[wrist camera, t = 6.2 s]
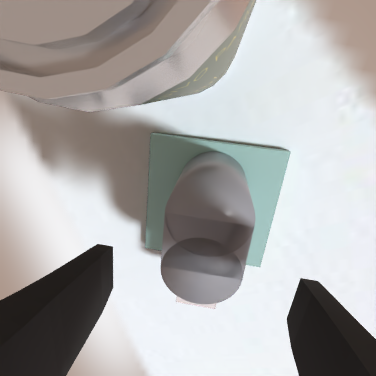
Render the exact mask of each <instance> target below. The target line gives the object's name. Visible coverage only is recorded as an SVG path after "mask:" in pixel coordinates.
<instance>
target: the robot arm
mask: <svg viewBox="0 0 376 376" xmlns="http://www.w3.org/2000/svg"><path fill="white" fill-rule="evenodd" d="M112 289H113V247H112V246H106V245H100V244H97V245H95V246H94V247H92V248H90V249H89V250H87V251H86V252H84V253H82V254H81V255H79V256H78V257H76V258H75V259H73V260H71V261H70V262H68V263H66V264H65V265H63V266H62V267H60V268H58V269H56V270H55V271H53V272H52V273H50V274H48V275H46V276H45V277H43V278H41V279H39V280H38V281H36V282H34V283H32V284H30V285H29V286H27V287H25V288H23V289H21V290H20V291H18V292H16V293H14V294H12V295H10V296H8V297H6V298H4V299H2V300H0V376H66V375H67V373H68V371H69V369H70V368H71V366H72V364H73V363H74V361H75V359H76V357H77V356H78V354H79V352H80V351H81V349H82V347H83V345H84V344H85V342H86V340H87V338H88V337H89V335H90V333H91V331H92V330H93V328H94V326H95V324H96V322H97V321H98V319H99V317H100V315H101V314H102V312H103V310H104V307H105V305H106V303H107V301H108V298H109V296H110V293H111V291H112ZM287 324H288V331H289V337H290V343H291V348H292V352H293V356H294V359H295V363H296V366H297V370H298V373H299V376H376V339H375V338H374V337H373V336H372V335H371V334H370V333H369V332H368V331H367V330H366V329H365V328H364V327H363V326H362V325H361V324H360V323H359V322H358V321H357V320H356V319H355V318H354V317H353V316H352V315H351V314H350V313H349V312H348V311H347V310H346V309H345V308H344V307H343V306H342V305H341V304H340V303H339V302H338V301H337V300H336V299H335V298H334V297H333V296H332V295H331V294H330V293H329V292H328V291H327V290H326V289H325V288H324V287H323V286H322V285H321V284H320V283H319V282H318V281H314V280H308V279H302V278H301V279H300V282H299V285H298V288H297V291H296V293H295V296H294V299H293V302H292V305H291V308H290V311H289V314H288V317H287Z"/></svg>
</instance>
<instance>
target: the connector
mask: <svg viewBox="0 0 376 376" xmlns="http://www.w3.org/2000/svg"><path fill="white" fill-rule="evenodd" d="M254 226H255V210H254V206H253V202H252V198H251V195H250V191H249V187H248V183H247V179H246V176H245V172H244V170H243V168H242V167H241V165H240V164H239V163H238V161H236V160H235V159H234V158H233V157H231V156H229V155H227V154H225V153H222V152H215V151H211V152H204V153H201V154H199V155H197V156H195V157H193V158H192V159H191V160H190V161H189V162H188V163H187V164H186V165H185V167H184V169H183V171H182V173H181V175H180V177H179V179H178V181H177V183H176V185H175V187H174V189H173V191H172V193H171V195H170V197H169V199H168V201H167V204H166V207H165V216H164V229H163V243H162V256H161V275H162V278H163V280H164V282H165V284H166V285H167V287H168V288H169V289H170V290H171V291H172V292H173V293H174V294H175V295H177V297H176V302H179V303H185V304H190V305H196V306H201V307H207V308H212V309H215V307H216V303H218V302H221V301H224V300H226V299H228V298H229V297H231V296H232V295H233V294H234V293H235V292H236V291H237V290H238V288H239V286H240V285H241V282H242V278H243V274H244V269H245V265H246V261H247V256H248V252H249V248H250V244H251V239H252V235H253V231H254Z"/></svg>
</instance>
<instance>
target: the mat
mask: <svg viewBox="0 0 376 376" xmlns="http://www.w3.org/2000/svg"><path fill="white" fill-rule="evenodd" d="M211 151H215V152H222V153H225V154H227V155H229V156H231V157H233V158H234V159H235V160H236V161H238V163H239V164H240V165H241V167H242V168H243V170H244V172H245V176H246V179H247V183H248V187H249V191H250V195H251V198H252V202H253V206H254V210H255V226H254V231H253V235H252V239H251V244H250V248H249V252H248V256H247V261H246V265H250V266H256V267H260V265H261V262H262V258H263V254H264V250H265V247H266V243H267V239H268V235H269V231H270V228H271V224H272V220H273V216H274V213H275V209H276V205H277V201H278V198H279V194H280V190H281V186H282V183H283V179H284V175H285V171H286V167H287V164H288V160H289V156H290V151H289V150H283V149H275V148H268V147H260V146H252V145H244V144H237V143H229V142H221V141H214V140H206V139H198V138H190V137H183V136H175V135H167V134H160V133H151V137H150V158H149V179H148V200H147V221H146V242H145V248H149V249H155V250H161V251H162V243H163V229H164V216H165V207H166V204H167V201H168V199H169V197H170V195H171V193H172V191H173V189H174V187H175V185H176V183H177V181H178V179H179V177H180V175H181V173H182V171H183V169H184V167H185V165H186V164H187V163H188V162H189V161H190V160H191V159H192V158H193V157H195V156H197V155H199V154H201V153H204V152H211Z"/></svg>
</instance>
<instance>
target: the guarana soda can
mask: <svg viewBox="0 0 376 376" xmlns="http://www.w3.org/2000/svg"><path fill="white" fill-rule="evenodd" d="M255 2H256V0H0V90H1V91H6V92H11V93H16V94H21V95H26V96H28V97H30V98H32V99H34V100H36V101H38V102H41V103H46V104H51V105H56V106H61V107H66V108H71V109H76V110H81V111H86V112H94V111H101V110H107V109H114V108H121V107H128V106H135V105H141V104H146V103H151V102H156V101H161V100H166V99H171V98H176V97H181V96H187V95H192V94H197V93H200V92H202V91H204V90H206V89H208V88H210V87H212V86H213V85H214V84H215V83H216V82H217V81H218V80H219V79H220V78H221V77H222V76H223V75H224V74H225V73H226V72H227V70H228V68H229V66H230V64H231V63H232V61H233V59H234V57H235V55H236V52H237V49H238V47H239V44H240V42H241V39H242V36H243V34H244V31H245V28H246V26H247V23H248V21H249V18H250V15H251V13H252V10H253V7H254V5H255Z"/></svg>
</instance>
